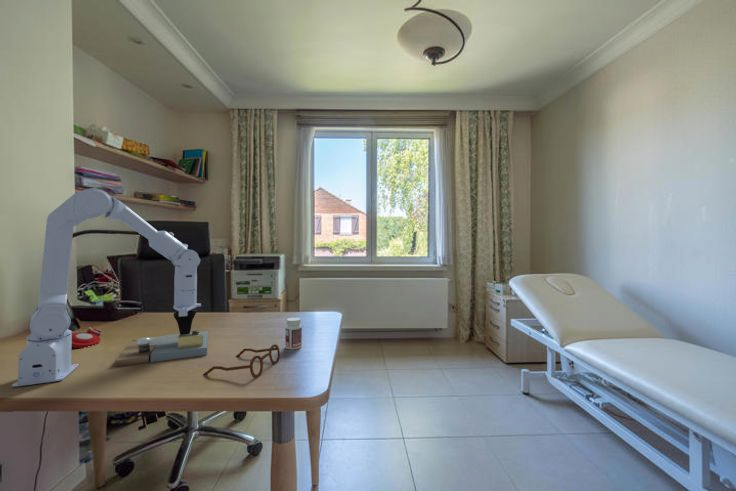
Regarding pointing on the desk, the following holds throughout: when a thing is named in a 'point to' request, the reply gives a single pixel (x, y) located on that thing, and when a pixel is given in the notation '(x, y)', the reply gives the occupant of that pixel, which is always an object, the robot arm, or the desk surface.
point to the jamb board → (134, 354)
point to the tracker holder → (86, 338)
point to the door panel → (178, 350)
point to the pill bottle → (293, 334)
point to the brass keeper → (190, 341)
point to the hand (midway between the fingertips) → (185, 335)
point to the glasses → (251, 361)
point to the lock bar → (161, 339)
